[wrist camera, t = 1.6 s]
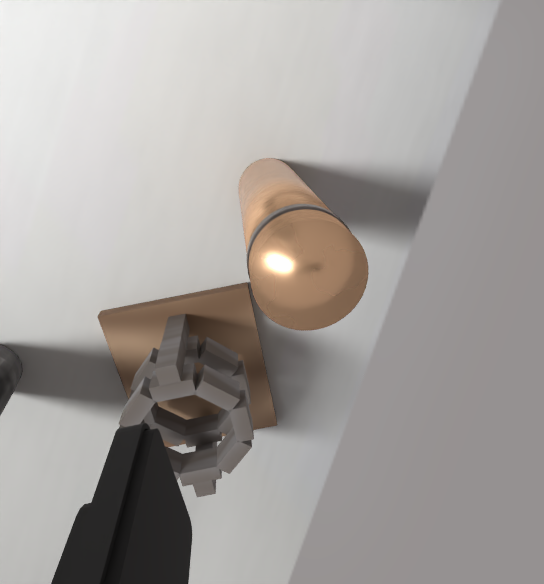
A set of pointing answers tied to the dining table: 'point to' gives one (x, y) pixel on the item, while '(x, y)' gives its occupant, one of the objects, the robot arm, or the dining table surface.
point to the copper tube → (297, 250)
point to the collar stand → (193, 377)
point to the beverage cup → (8, 374)
